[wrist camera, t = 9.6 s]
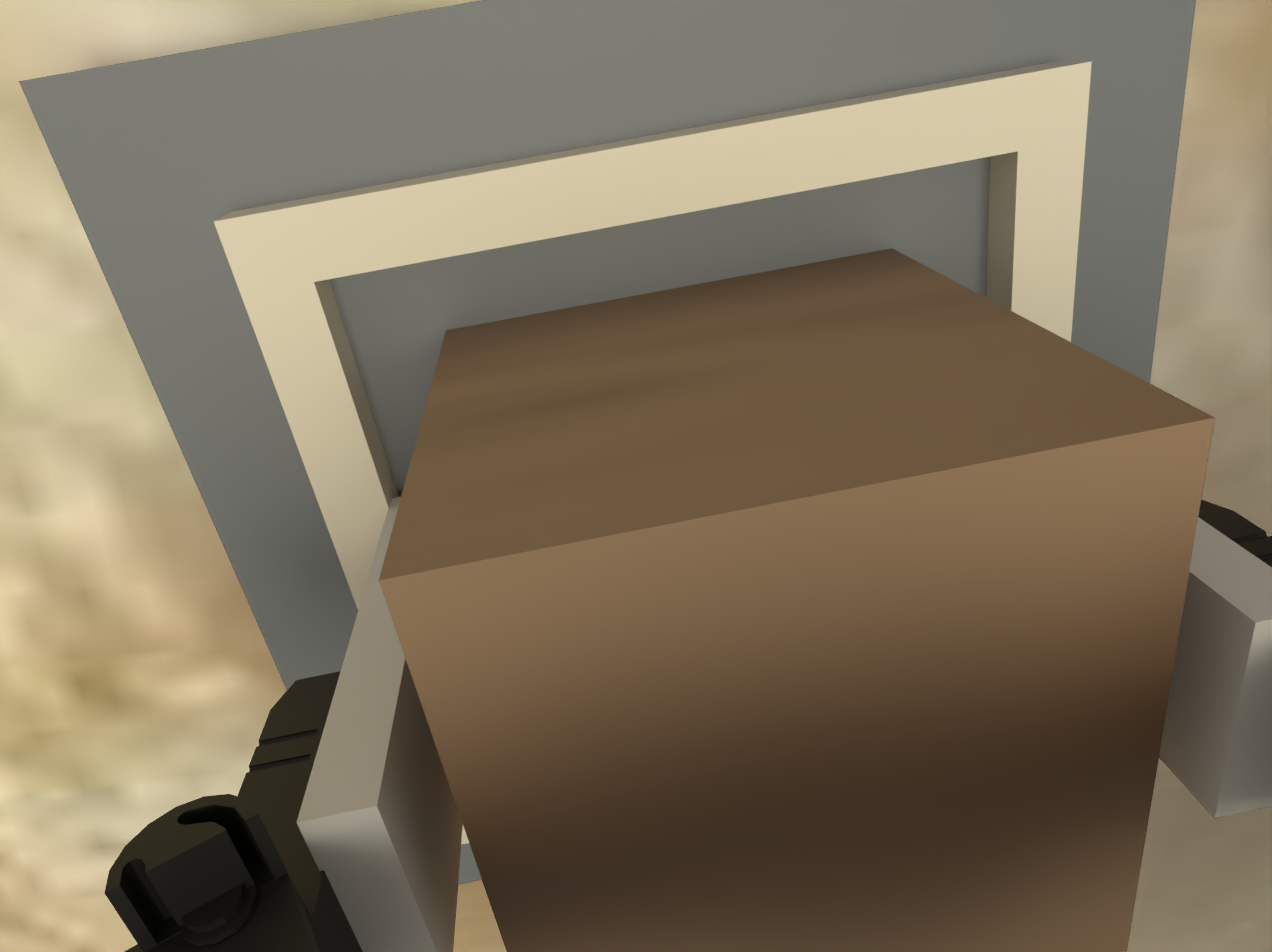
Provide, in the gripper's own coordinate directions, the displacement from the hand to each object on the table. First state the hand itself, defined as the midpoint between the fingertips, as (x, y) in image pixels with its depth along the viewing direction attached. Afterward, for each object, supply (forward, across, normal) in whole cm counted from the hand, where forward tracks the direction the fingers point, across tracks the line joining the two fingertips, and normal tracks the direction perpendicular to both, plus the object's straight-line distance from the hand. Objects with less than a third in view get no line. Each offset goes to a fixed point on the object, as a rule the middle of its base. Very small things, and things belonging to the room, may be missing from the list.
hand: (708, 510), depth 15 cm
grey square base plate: (+2, 0, 0) cm, 2 cm away
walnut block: (0, 0, 0) cm, 1 cm away
